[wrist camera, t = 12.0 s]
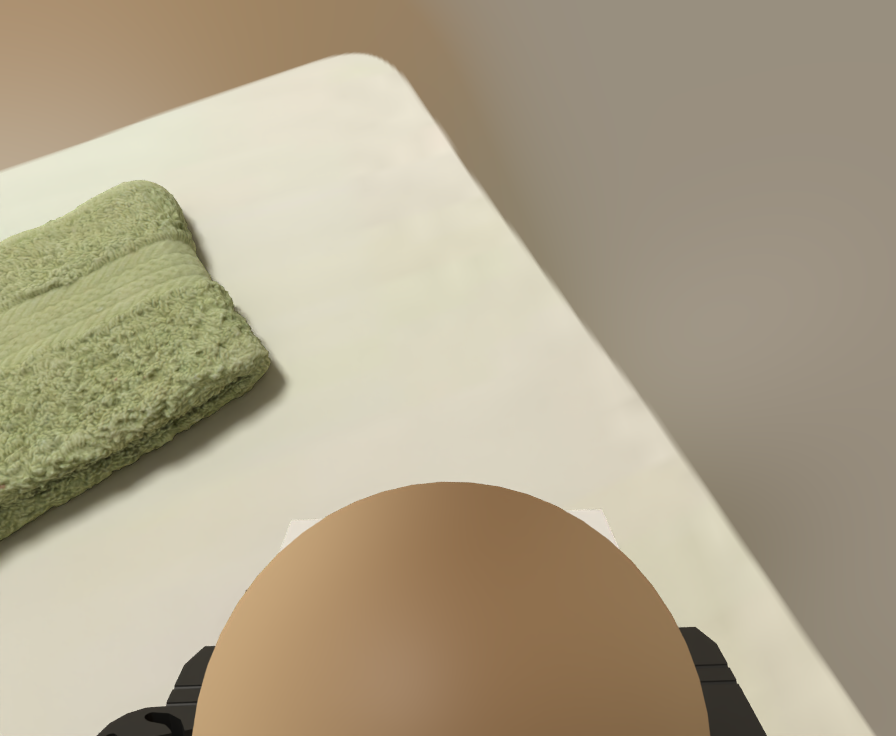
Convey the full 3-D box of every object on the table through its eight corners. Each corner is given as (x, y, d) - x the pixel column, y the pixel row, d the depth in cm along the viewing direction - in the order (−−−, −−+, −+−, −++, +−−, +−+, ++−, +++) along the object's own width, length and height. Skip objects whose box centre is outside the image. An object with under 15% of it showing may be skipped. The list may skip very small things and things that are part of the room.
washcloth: (-204, 367, 37) (-258, 328, 34) (170, 197, 41) (150, 150, 38) (-127, 625, 31) (-185, 604, 28) (294, 396, 36) (280, 359, 33)
